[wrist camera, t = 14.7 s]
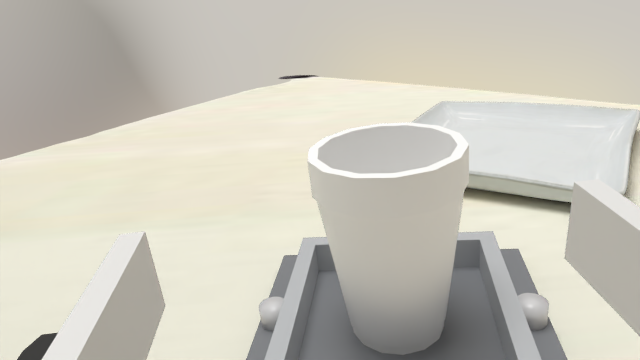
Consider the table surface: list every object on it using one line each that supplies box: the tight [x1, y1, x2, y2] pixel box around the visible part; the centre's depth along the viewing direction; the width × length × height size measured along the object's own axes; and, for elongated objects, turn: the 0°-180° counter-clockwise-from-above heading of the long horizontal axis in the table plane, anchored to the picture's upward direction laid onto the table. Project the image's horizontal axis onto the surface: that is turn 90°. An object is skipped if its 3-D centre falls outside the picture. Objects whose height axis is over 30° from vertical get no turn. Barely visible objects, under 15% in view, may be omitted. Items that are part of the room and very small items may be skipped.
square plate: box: [411, 101, 640, 202], centre depth 62 cm, size 27×27×4 cm
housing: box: [246, 231, 567, 360], centre depth 34 cm, size 20×18×4 cm
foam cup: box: [308, 122, 469, 355], centre depth 32 cm, size 10×9×13 cm
